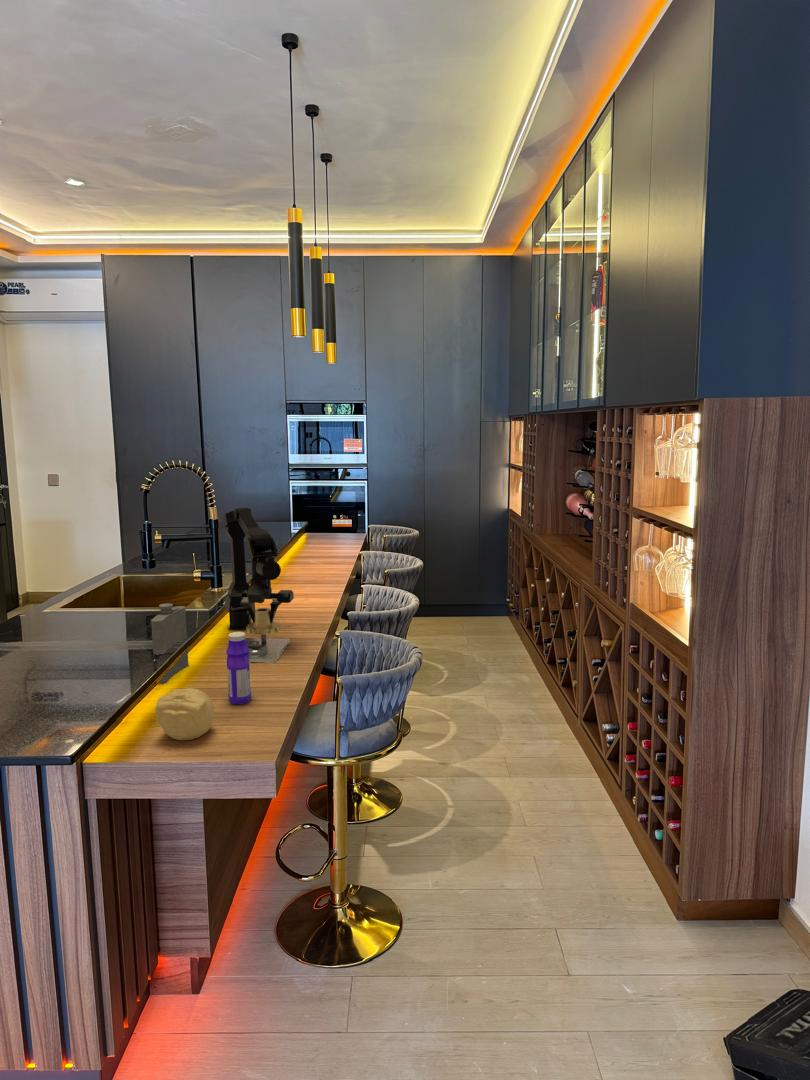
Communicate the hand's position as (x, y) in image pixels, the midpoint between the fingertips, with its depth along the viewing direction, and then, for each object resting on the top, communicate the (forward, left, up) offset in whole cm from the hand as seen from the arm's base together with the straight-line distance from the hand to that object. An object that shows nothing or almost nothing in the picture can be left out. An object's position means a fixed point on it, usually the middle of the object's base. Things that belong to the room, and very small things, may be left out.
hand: (263, 623), depth 219 cm
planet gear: (0, 0, -2) cm, 2 cm away
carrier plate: (0, -5, -8) cm, 9 cm away
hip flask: (-20, -25, -8) cm, 33 cm away
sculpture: (-1, -63, -8) cm, 63 cm away
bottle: (+5, -43, -8) cm, 44 cm away
